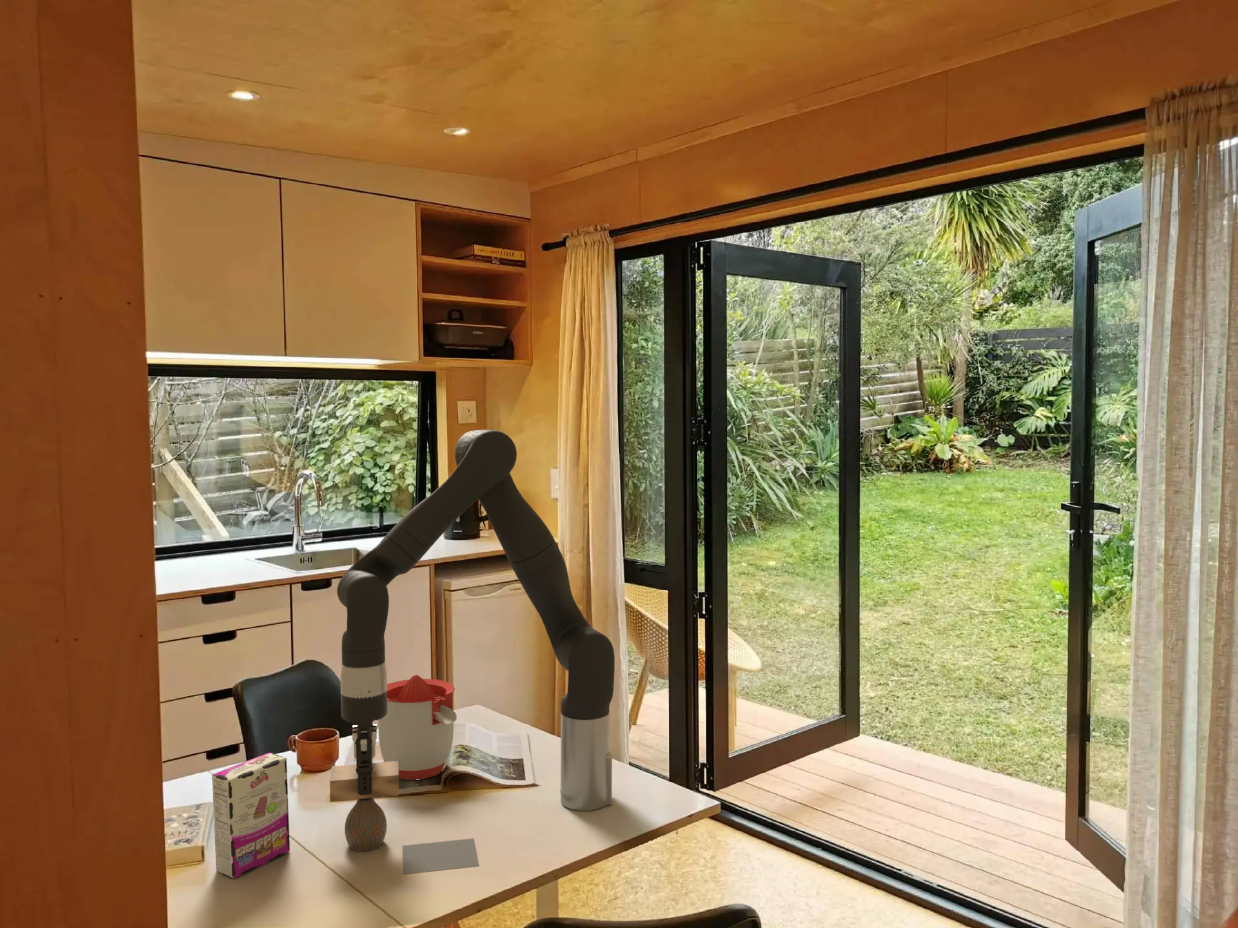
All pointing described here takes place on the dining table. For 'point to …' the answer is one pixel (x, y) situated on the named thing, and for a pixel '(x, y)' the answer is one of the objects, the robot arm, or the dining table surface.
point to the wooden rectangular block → (347, 781)
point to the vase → (365, 825)
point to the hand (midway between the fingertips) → (365, 785)
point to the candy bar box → (250, 814)
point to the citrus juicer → (418, 726)
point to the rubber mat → (439, 856)
